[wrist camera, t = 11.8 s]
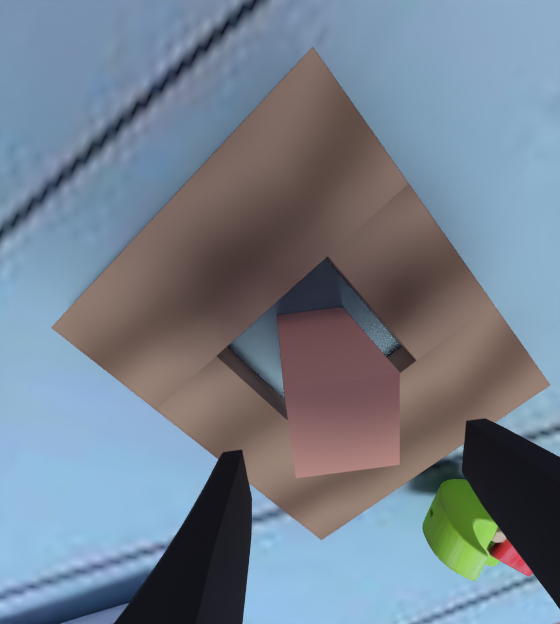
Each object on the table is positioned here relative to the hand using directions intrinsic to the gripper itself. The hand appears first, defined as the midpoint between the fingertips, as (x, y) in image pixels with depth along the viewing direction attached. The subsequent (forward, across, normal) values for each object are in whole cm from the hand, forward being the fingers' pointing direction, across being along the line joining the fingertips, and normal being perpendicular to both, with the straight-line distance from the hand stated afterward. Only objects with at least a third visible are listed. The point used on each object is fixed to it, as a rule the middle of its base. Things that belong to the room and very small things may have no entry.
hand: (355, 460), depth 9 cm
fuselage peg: (+9, 0, 0) cm, 9 cm away
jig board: (+9, 0, 0) cm, 9 cm away
